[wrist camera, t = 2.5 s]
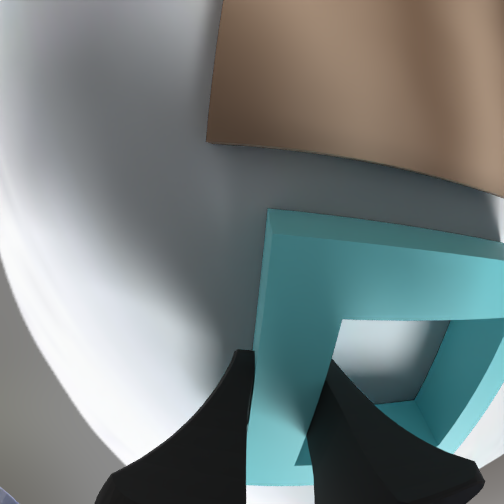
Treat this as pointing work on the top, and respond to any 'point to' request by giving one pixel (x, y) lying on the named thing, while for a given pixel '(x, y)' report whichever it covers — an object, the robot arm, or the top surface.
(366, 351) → the top surface
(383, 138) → the peg board
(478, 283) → the loop
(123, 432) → the top surface
